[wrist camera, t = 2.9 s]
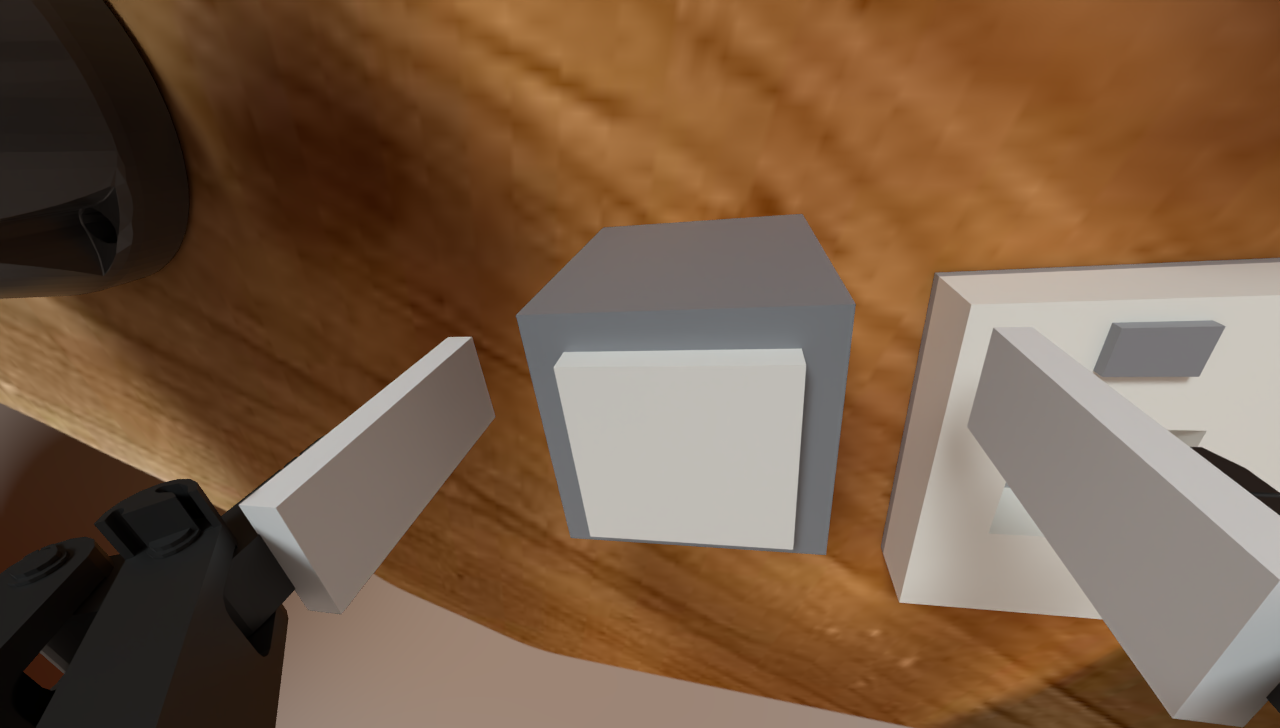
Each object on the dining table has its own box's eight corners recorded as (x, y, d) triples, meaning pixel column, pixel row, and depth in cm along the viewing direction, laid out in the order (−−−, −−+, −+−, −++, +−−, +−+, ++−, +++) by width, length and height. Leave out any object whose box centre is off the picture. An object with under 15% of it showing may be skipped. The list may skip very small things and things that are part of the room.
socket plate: (880, 546, 23) (902, 610, 20) (934, 272, 17) (977, 309, 14) (1407, 579, 19) (1527, 664, 17) (1750, 237, 13) (2051, 279, 10)
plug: (639, 352, 20) (563, 558, 11) (622, 208, 18) (502, 328, 8) (784, 349, 19) (830, 578, 10) (791, 195, 16) (864, 318, 7)
